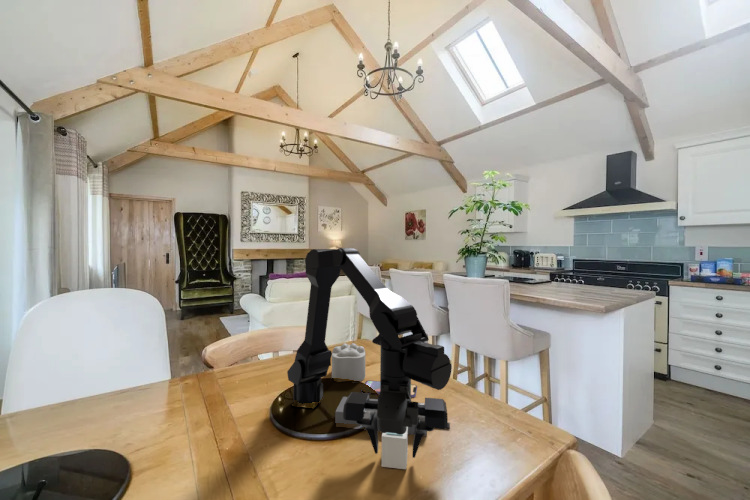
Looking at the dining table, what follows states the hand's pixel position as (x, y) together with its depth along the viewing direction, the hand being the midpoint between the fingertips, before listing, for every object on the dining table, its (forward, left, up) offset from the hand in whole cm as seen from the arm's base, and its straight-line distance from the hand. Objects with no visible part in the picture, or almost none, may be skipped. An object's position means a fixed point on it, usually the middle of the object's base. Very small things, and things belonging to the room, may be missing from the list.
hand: (395, 454), depth 59 cm
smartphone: (-4, +29, -2) cm, 30 cm away
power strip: (-2, +12, -1) cm, 12 cm away
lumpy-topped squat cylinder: (-18, +38, -2) cm, 42 cm away
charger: (0, +1, -1) cm, 1 cm away
